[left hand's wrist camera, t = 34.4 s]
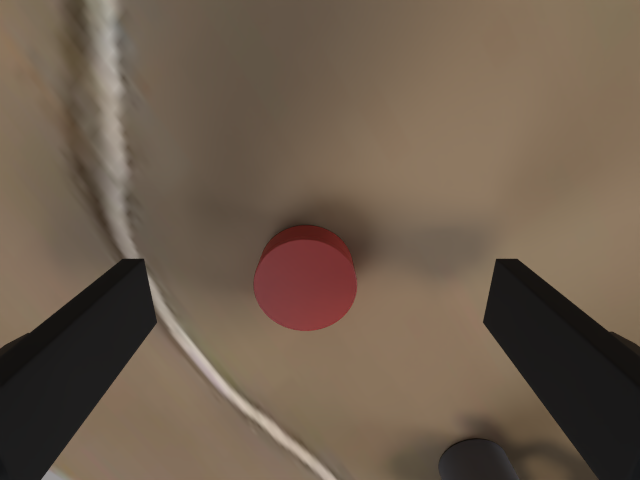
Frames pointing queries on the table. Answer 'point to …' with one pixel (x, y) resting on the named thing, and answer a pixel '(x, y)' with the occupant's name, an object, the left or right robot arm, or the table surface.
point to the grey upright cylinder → (476, 462)
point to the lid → (305, 278)
